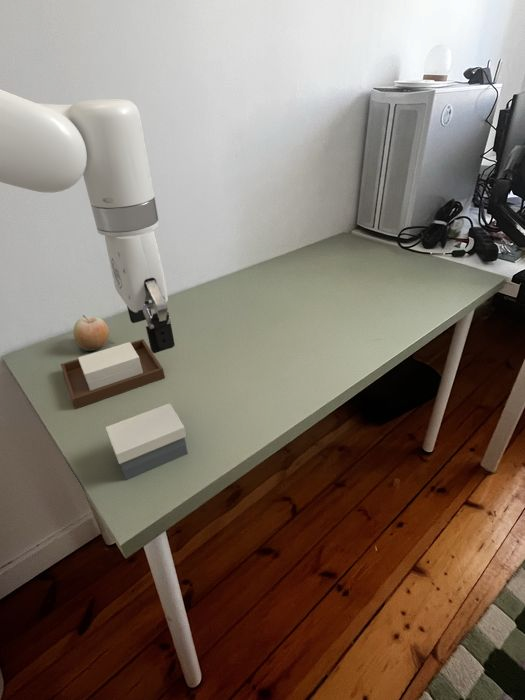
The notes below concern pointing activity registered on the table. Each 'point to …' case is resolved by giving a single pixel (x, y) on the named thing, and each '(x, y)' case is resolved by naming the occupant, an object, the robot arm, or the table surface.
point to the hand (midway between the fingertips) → (151, 333)
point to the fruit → (91, 333)
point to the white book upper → (109, 361)
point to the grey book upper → (153, 454)
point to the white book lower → (114, 378)
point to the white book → (145, 432)
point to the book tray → (85, 396)
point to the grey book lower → (155, 462)
